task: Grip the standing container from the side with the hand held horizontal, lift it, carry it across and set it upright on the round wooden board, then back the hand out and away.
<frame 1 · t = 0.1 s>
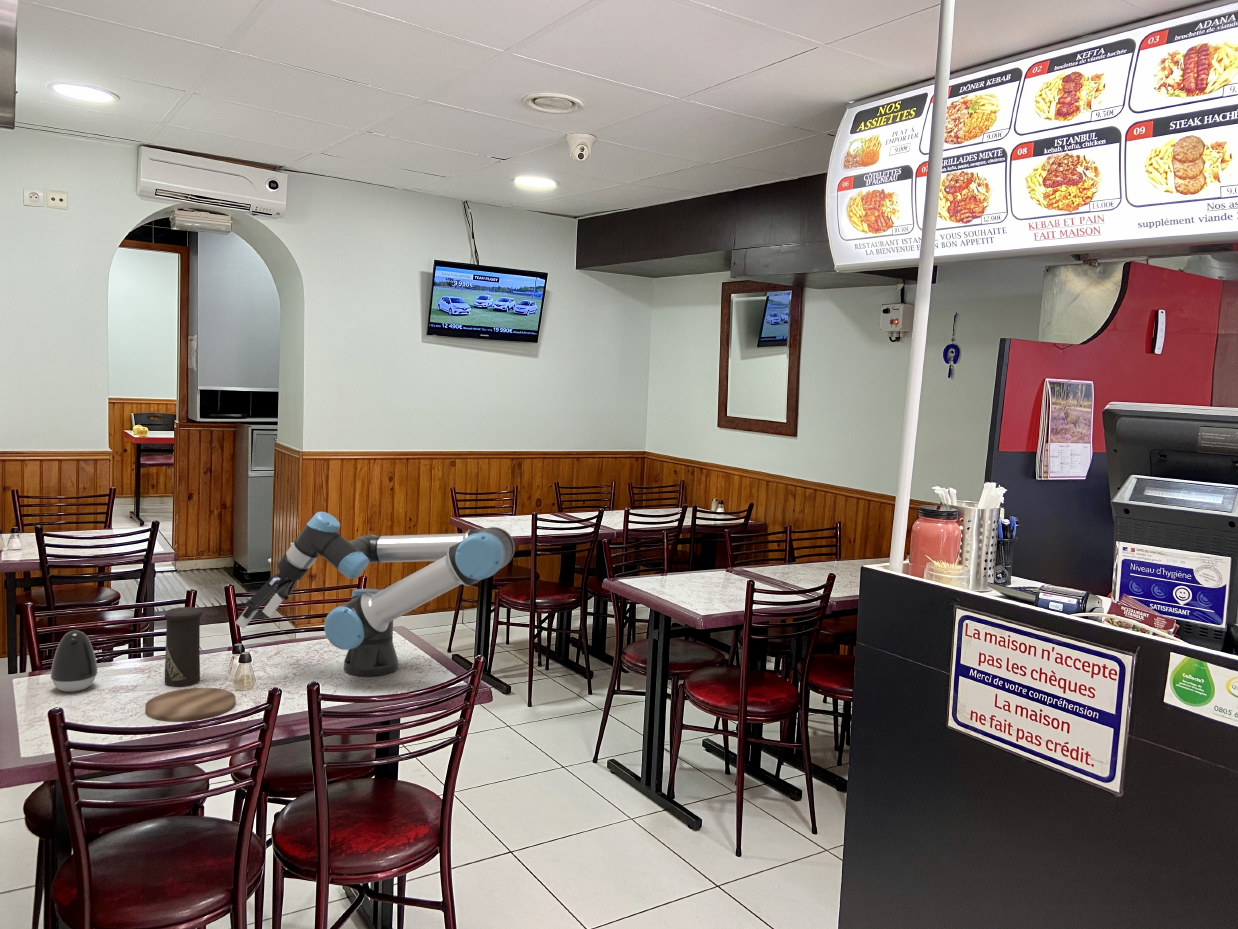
hand: (253, 619, 245), 15 cm above the table, tool tilted 35°, fingers open, 13 cm apart
container: (182, 683, 236), on the table
black egg shaped device: (74, 689, 227), on the table
round wooden board: (191, 706, 218), on the table
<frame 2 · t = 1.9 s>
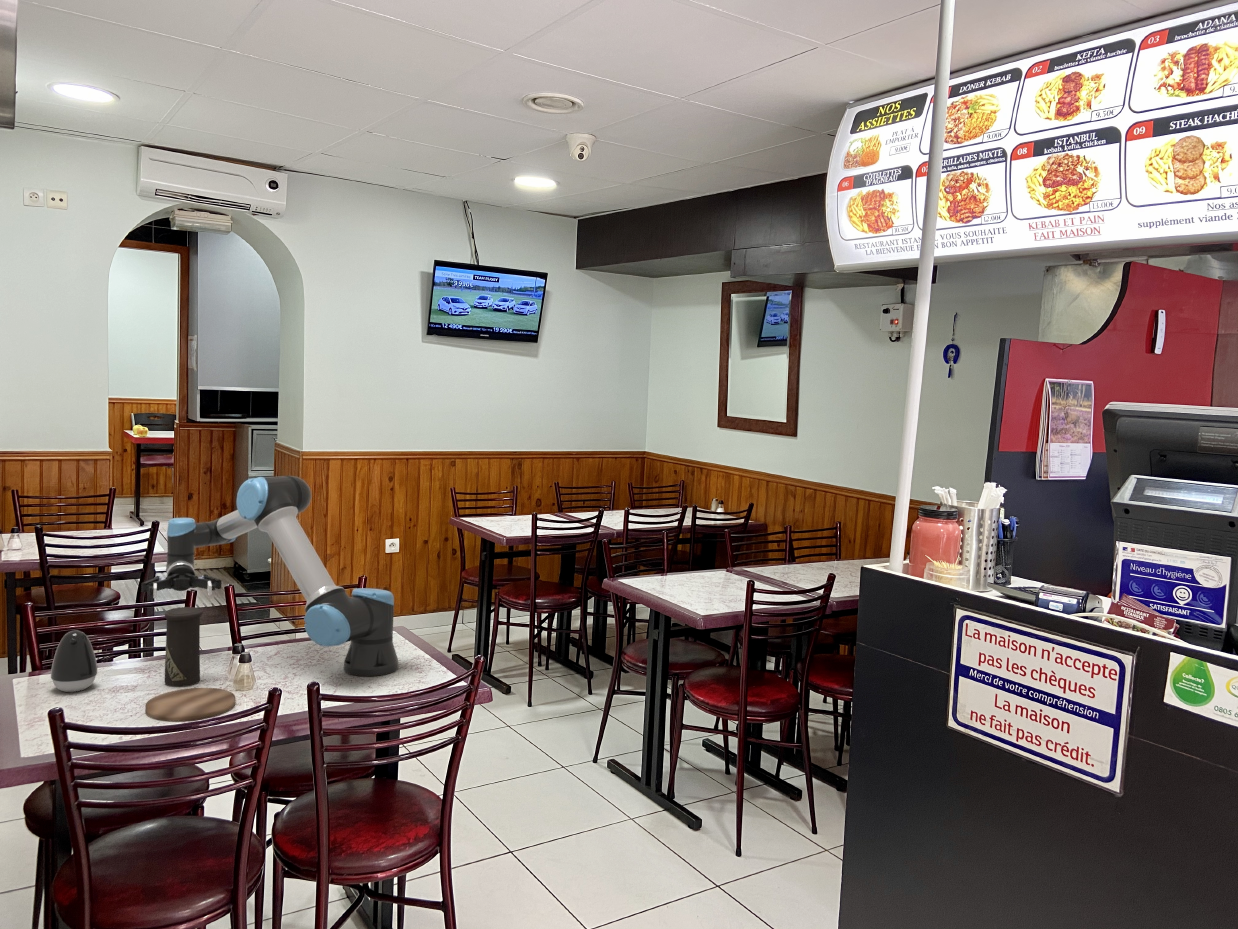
hand: (182, 592, 243), 22 cm above the table, tool horizontal, fingers open, 13 cm apart
nothing on the table moved.
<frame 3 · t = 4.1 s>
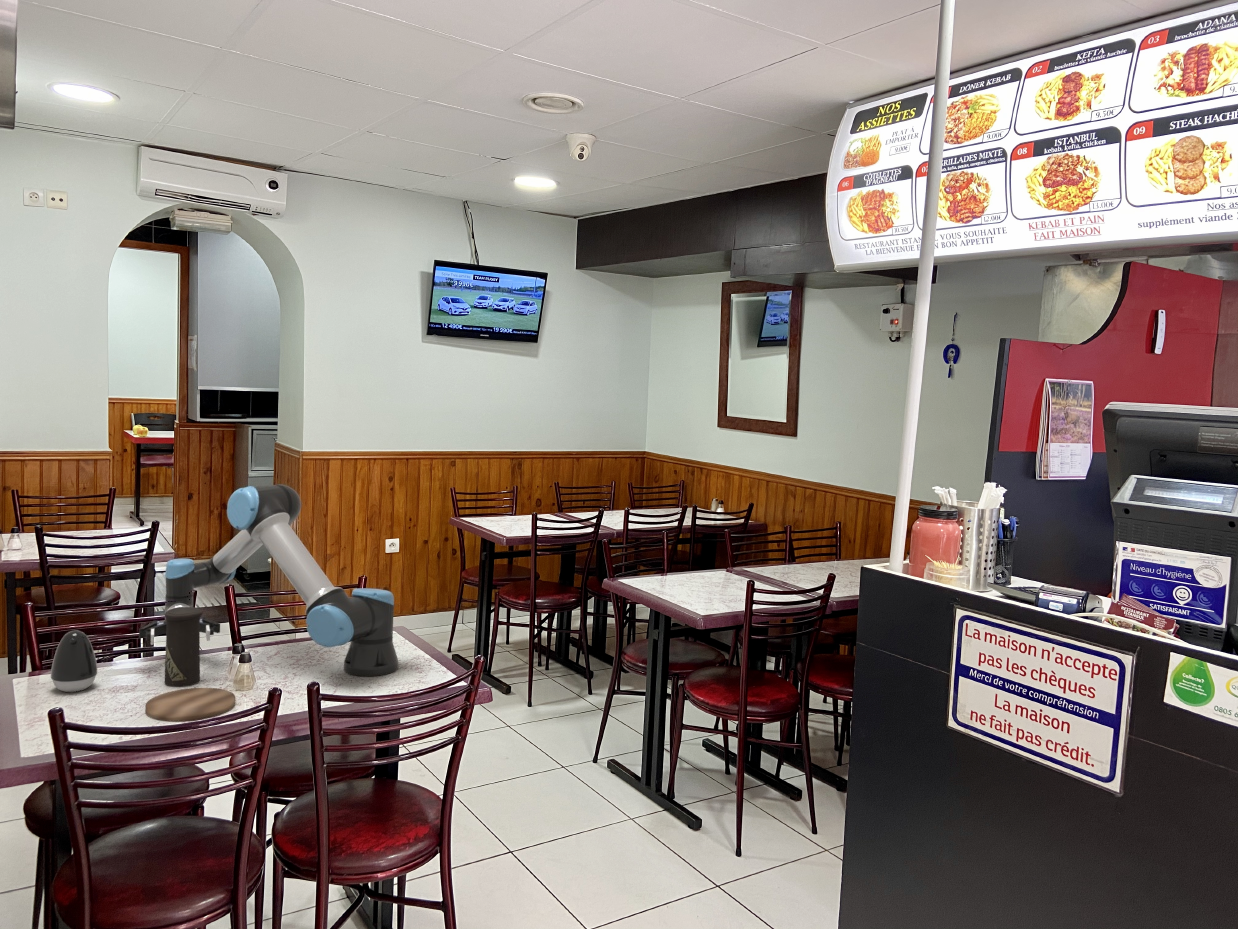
hand: (180, 637, 239), 11 cm above the table, tool horizontal, fingers open, 13 cm apart
nothing on the table moved.
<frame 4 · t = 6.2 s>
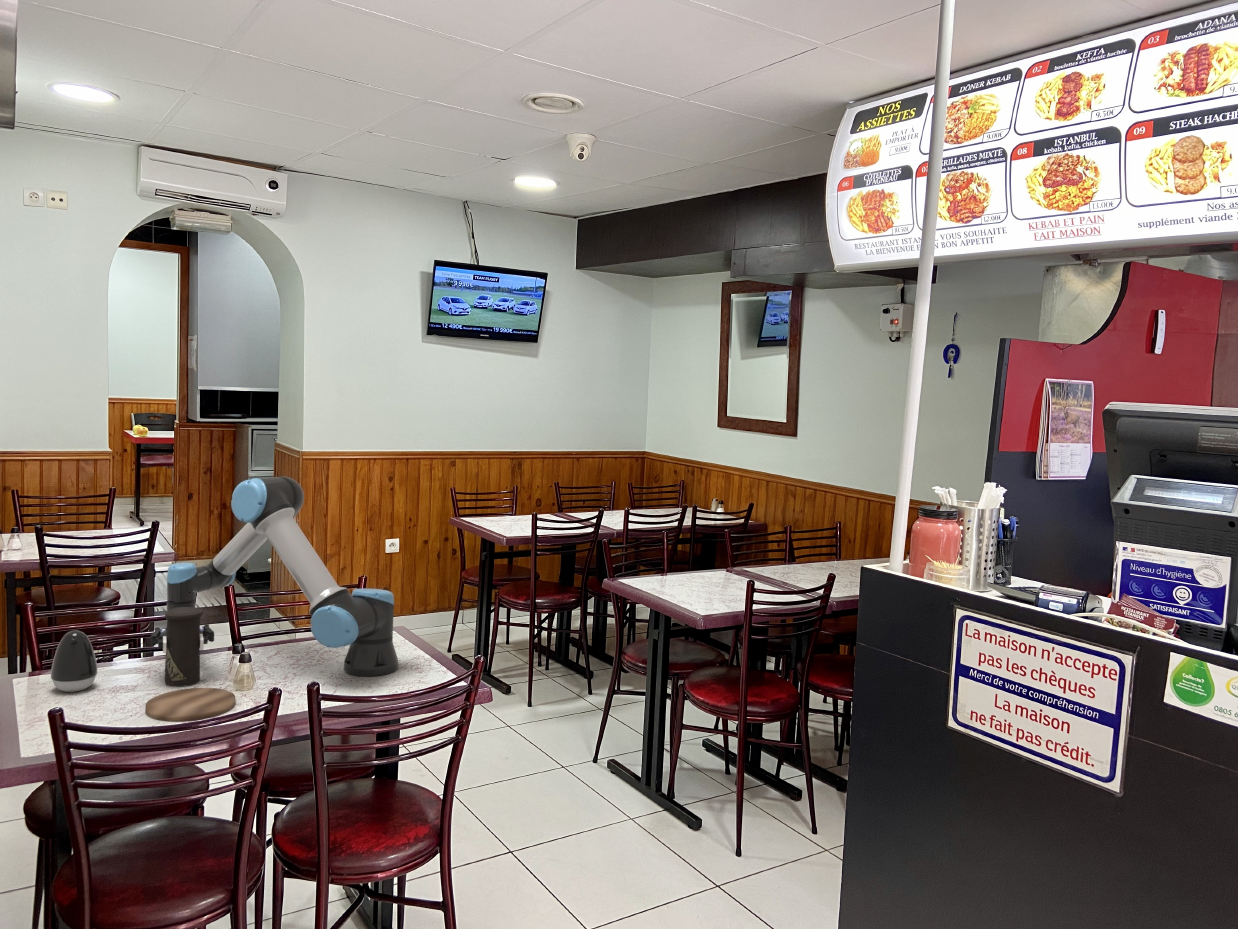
hand: (183, 646, 231), 11 cm above the table, tool horizontal, fingers closed on container, 8 cm apart
container: (182, 683, 236), on the table, touching gripper
everything else where it was.
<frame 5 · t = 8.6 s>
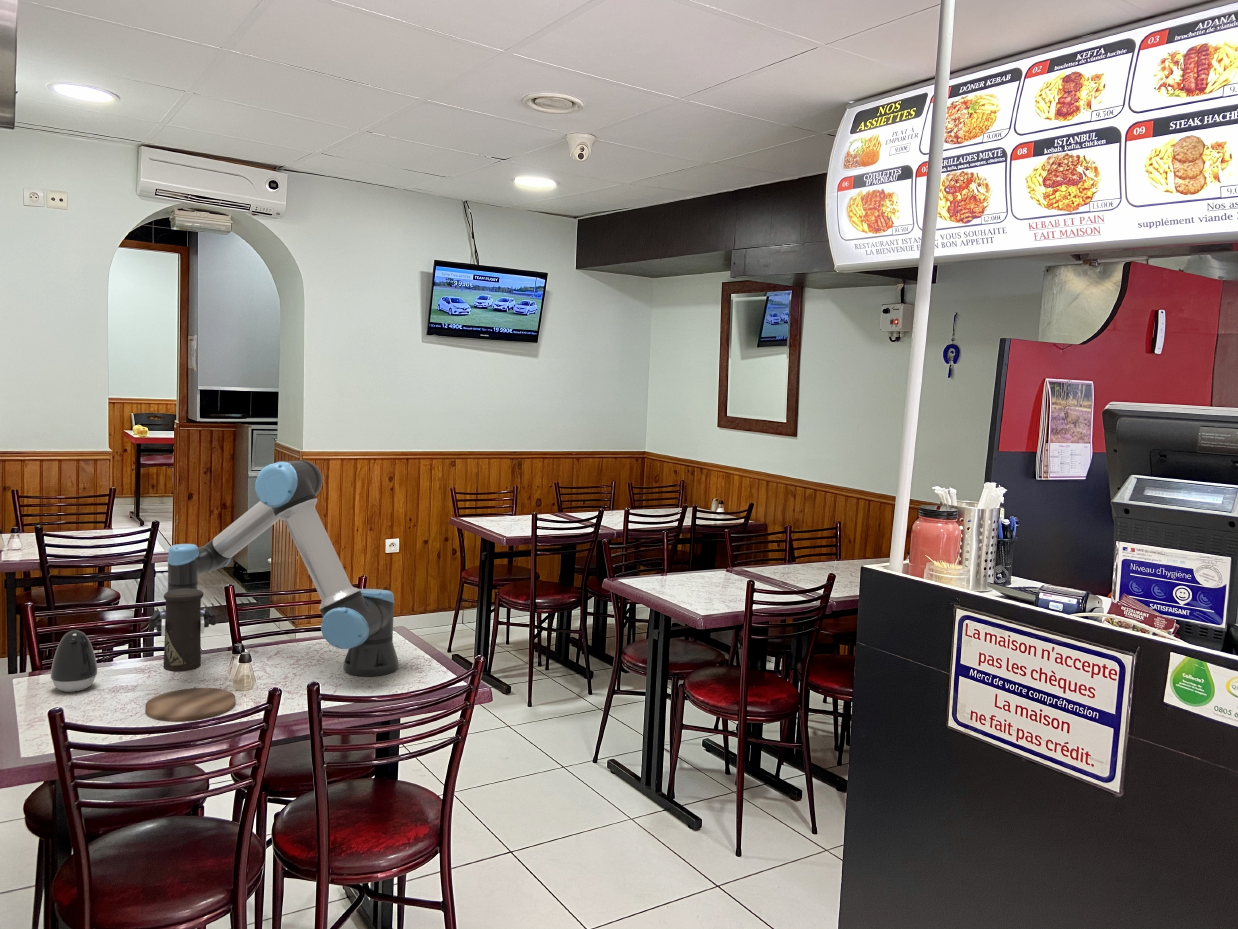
hand: (183, 629, 219), 19 cm above the table, tool horizontal, fingers closed on container, 8 cm apart
container: (182, 668, 224), point 8 cm above the table, touching gripper
everything else where it was.
when the fingers open (14 cm above the table, at t = 10.9 s): container drops 1 cm, resting on round wooden board.
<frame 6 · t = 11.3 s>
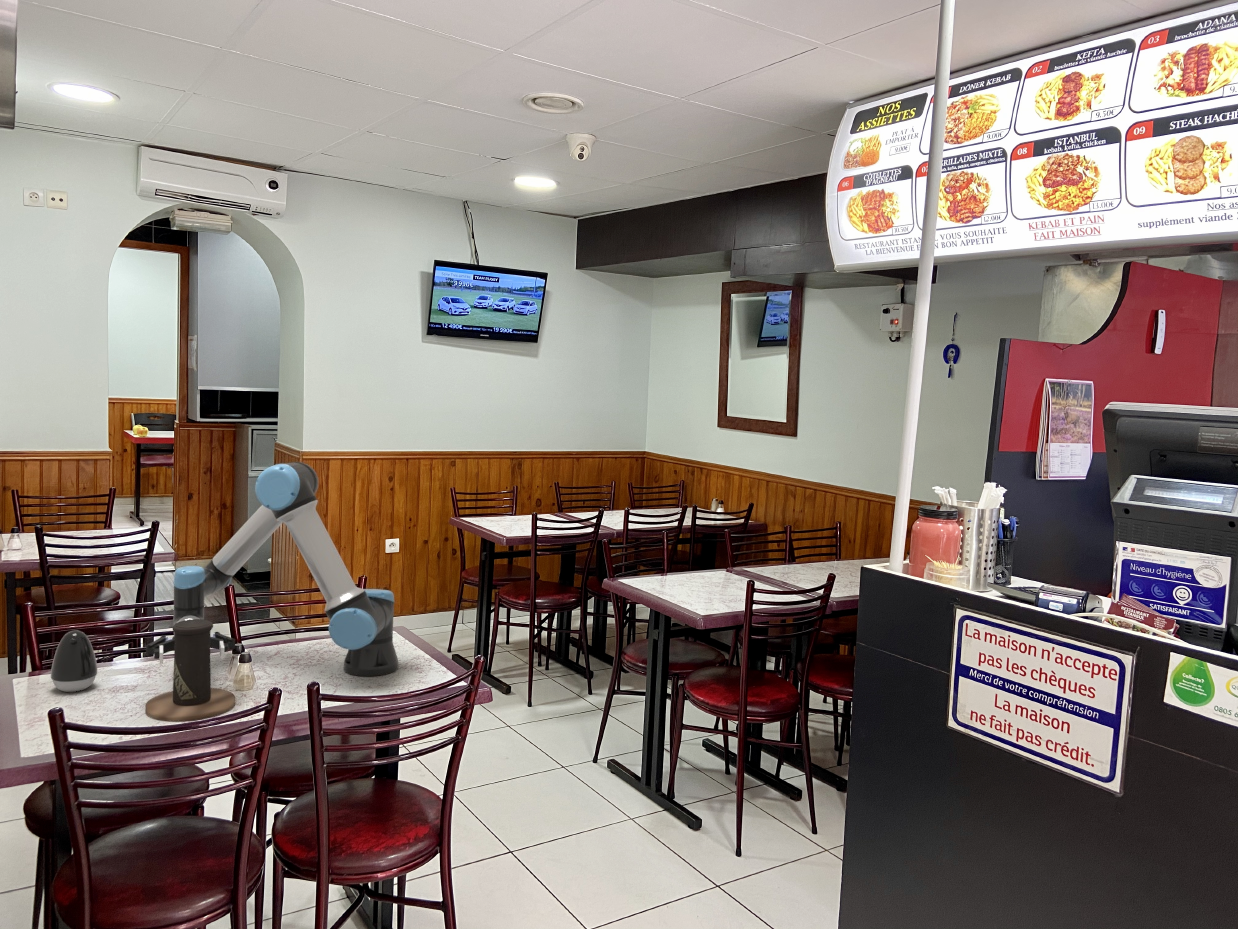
hand: (192, 655, 215), 14 cm above the table, tool horizontal, fingers open, 13 cm apart
container: (192, 701, 218), point 1 cm above the table, touching round wooden board
everything else where it was.
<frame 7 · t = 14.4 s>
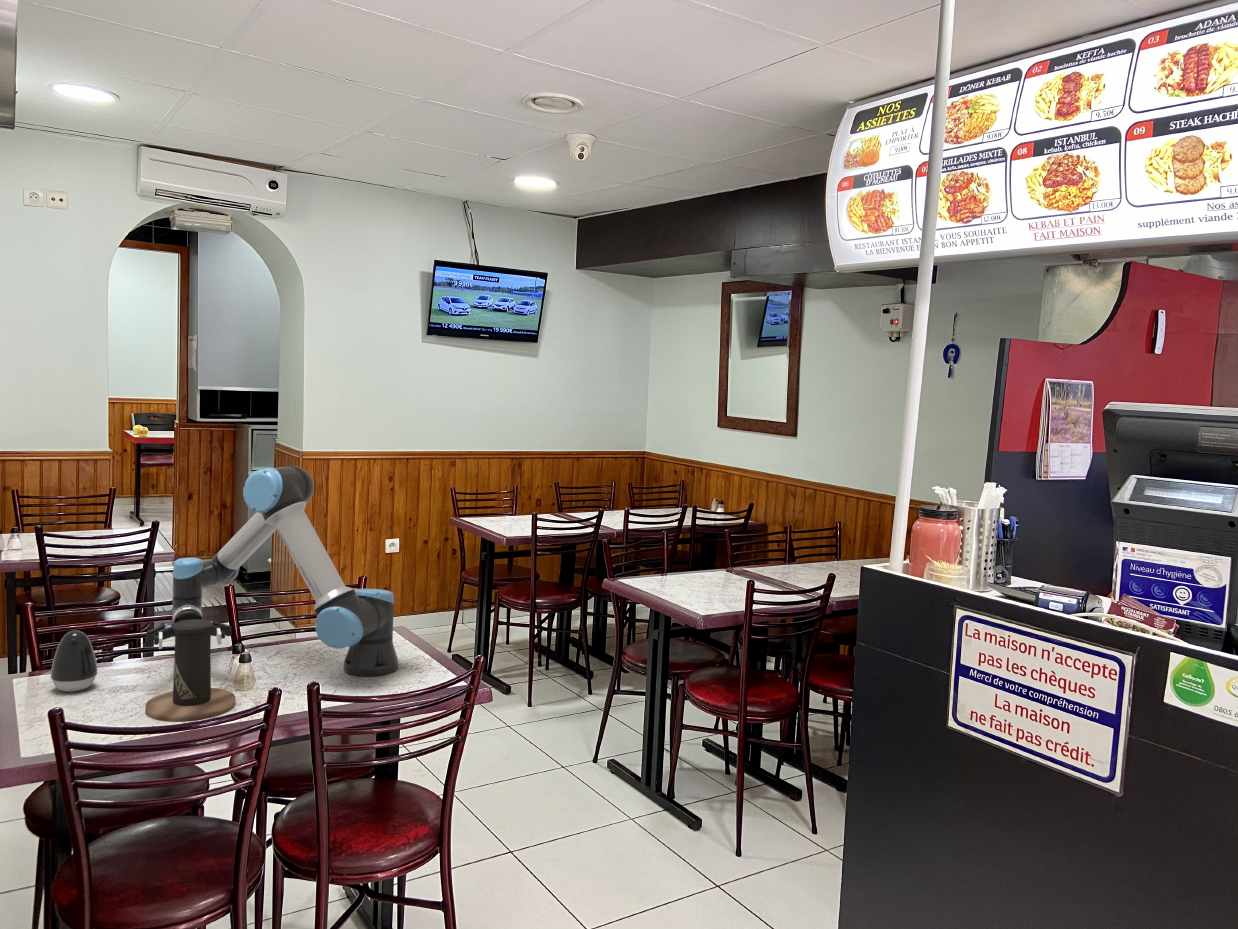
hand: (190, 641, 226), 14 cm above the table, tool horizontal, fingers open, 13 cm apart
nothing on the table moved.
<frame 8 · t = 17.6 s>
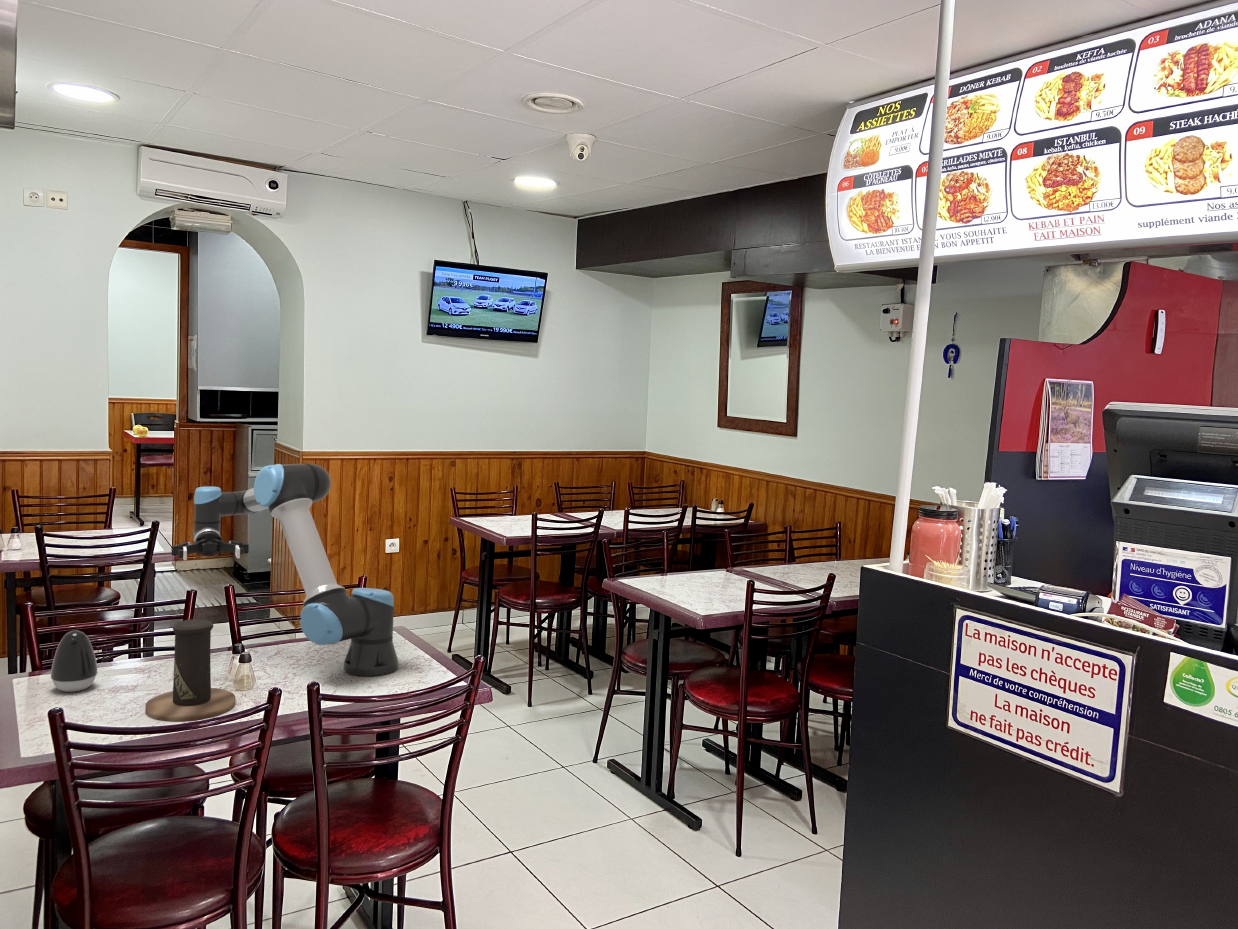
hand: (212, 554, 248), 32 cm above the table, tool horizontal, fingers open, 13 cm apart
nothing on the table moved.
at the end: container 0.2 cm from the round wooden board (horizontally); container point 1.3 cm above the table; container tilted 0° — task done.
